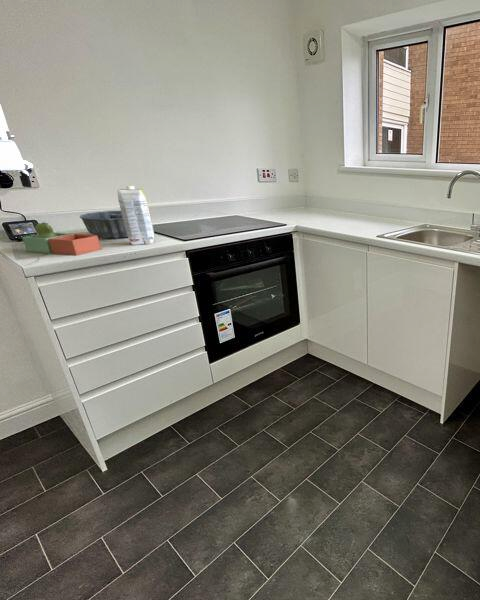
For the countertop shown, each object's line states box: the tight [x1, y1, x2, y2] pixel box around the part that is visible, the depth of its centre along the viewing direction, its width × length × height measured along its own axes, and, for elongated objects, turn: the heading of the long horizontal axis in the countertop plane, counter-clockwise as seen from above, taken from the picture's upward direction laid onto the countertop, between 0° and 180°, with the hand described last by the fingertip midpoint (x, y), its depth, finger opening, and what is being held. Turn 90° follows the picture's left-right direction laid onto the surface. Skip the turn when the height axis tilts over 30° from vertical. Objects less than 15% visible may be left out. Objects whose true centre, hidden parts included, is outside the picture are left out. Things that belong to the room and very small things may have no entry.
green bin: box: [21, 232, 73, 254], centre depth 139 cm, size 10×10×6 cm
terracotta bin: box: [49, 233, 102, 256], centre depth 137 cm, size 10×10×6 cm
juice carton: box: [117, 185, 155, 246], centre depth 150 cm, size 9×8×24 cm
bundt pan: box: [79, 210, 128, 239], centre depth 166 cm, size 26×26×10 cm
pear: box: [34, 221, 57, 238], centre depth 137 cm, size 6×5×10 cm
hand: (12, 187), depth 128 cm, fingers open, 9 cm apart
